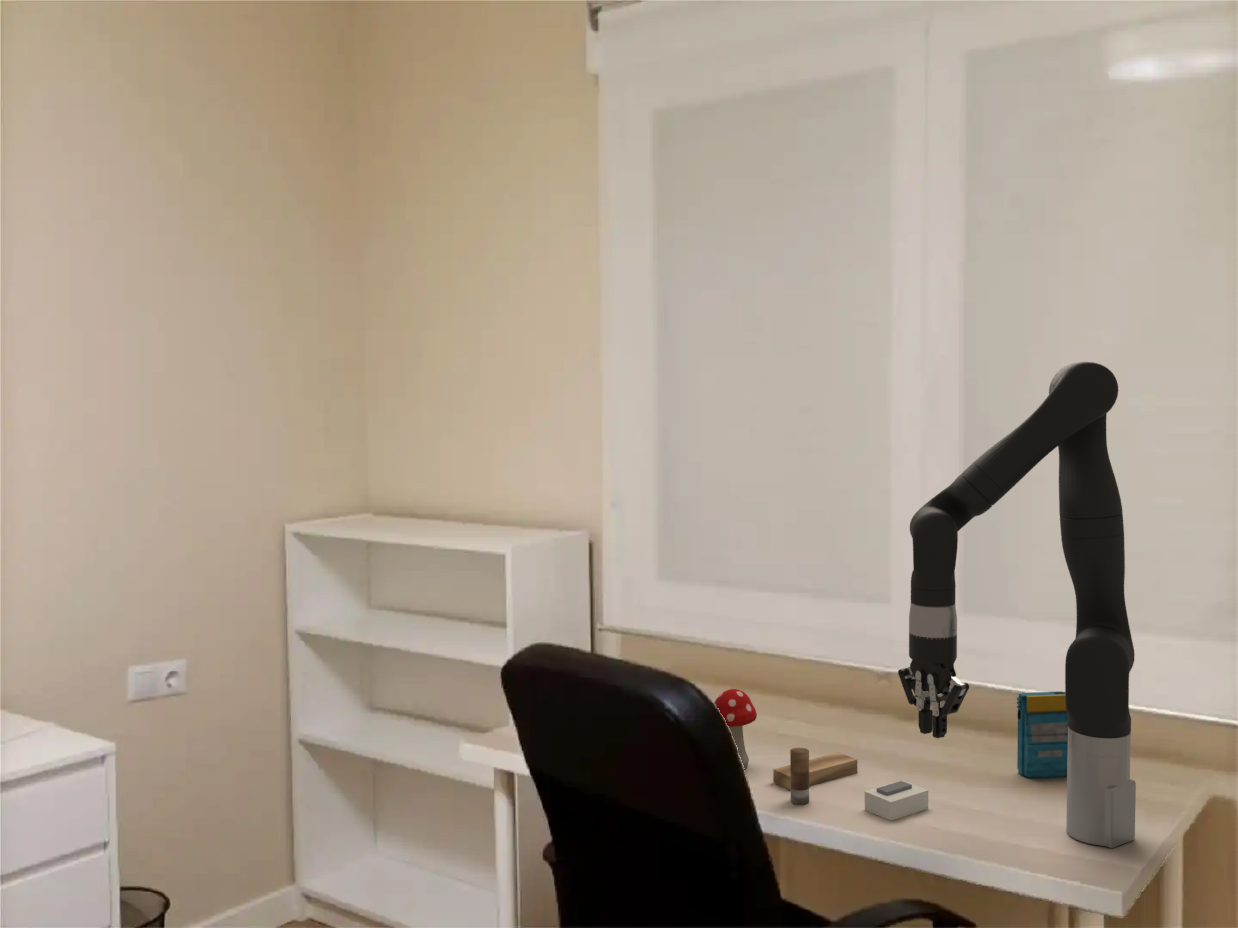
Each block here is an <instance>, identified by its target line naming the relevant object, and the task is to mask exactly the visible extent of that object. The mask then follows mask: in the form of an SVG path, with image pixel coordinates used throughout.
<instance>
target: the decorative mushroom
mask: <svg viewBox="0 0 1238 928" xmlns="http://www.w3.org/2000/svg"><path fill="white" fill-rule="evenodd" d="M714 704H715V706H716V707H717V708H719V710H720V713H721V714H722V715H723V717H724V718H725V720H726V723H727V725H728V726H729V728H730V730H731V732H732V736H733V738H734V740H735V743H736V745H737V747H738V753H739V755H740V757H741V760H742V763H743V765H744V768H745V770H746V769H747V768H748V766H749V765H748V764H749V762H750V760H749V759H750V758H749V756H748V753H747V750H746V746H745V745H746V744H745V738H744V731H743V730H744V729H743V726H747V725H750V724H752V723H754V722H755V721H756V719H757V717H758V716H757V715H758V713H757V710H756V707H755V705H754V704H753V702H752V701H751V698H750V696H749V695H748V694H747V693H745V692H744V691H743V690H741V689H737V688H731V689H727V690H724V691H723V692H721V693H720V694H719V695H718V696H717V698H716V699H715V700H714ZM714 704H713V705H714Z"/></svg>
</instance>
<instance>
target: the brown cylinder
mask: <svg viewBox="0 0 1238 928" xmlns="http://www.w3.org/2000/svg"><path fill="white" fill-rule="evenodd" d="M789 754H790V757H789V758H790V759H789V761H790V764H789V765H790V772H791V790H790V803H792V804H794V805H798V806H799V805H801V806H802V805H807V804H809V803H810V786H809V760H810V750H809V749H807V748H804V747H792V748H791V749H790V750H789Z"/></svg>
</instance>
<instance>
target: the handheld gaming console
mask: <svg viewBox="0 0 1238 928" xmlns="http://www.w3.org/2000/svg"><path fill="white" fill-rule="evenodd" d="M1016 700H1017V701H1016V708H1017V761H1016V763H1017V764H1016V765H1017V767H1016V768H1017V769H1016V770H1017V774H1018V775H1019V776H1021V777H1026V778H1027V779H1039V778H1040V779H1043V778H1044V779H1045V778H1067V756H1068V715H1067V712H1066V705H1065V691H1063V690H1062V691H1039V692H1037V691H1036V692H1035V691H1034V692H1022V693H1018V697H1016Z"/></svg>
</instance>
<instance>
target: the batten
mask: <svg viewBox="0 0 1238 928" xmlns="http://www.w3.org/2000/svg"><path fill="white" fill-rule="evenodd" d="M772 771H773V774H772V775H773V777H772V779H773V784H775V785H778V786H780V787H782V788H785V789H786V790H788V791H791V772H790V764H787V765H784V766H780V767H777V768H773V770H772ZM857 773H858V759H857V758H854V757H852V756H850V755H847V754H844V753H842V752H834V753H830V754H827V755H826V754H825V755H821V756H820V757H815V758H811V759H809V787H810V786H814V785H817V784H821V783H825V782H828V781H832V780H835V779H841V778H843V777H847V776H850V775H853V774H857Z"/></svg>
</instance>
